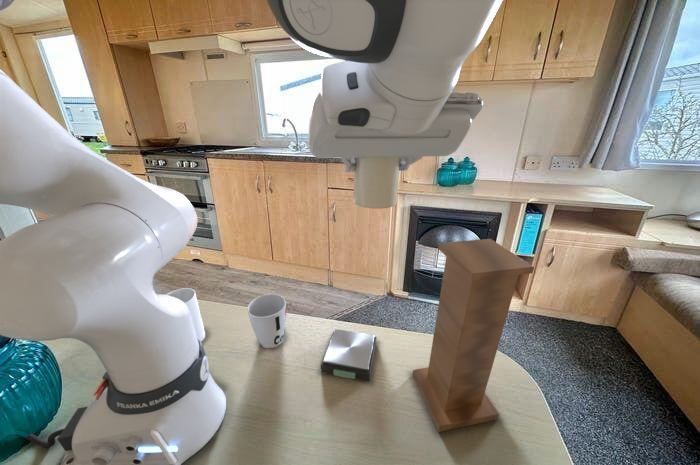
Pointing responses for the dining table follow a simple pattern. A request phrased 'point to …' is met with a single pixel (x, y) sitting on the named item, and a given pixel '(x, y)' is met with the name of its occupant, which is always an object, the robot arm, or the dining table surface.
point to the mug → (191, 308)
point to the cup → (268, 319)
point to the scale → (349, 355)
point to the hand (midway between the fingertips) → (375, 167)
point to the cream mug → (376, 182)
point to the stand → (468, 331)
